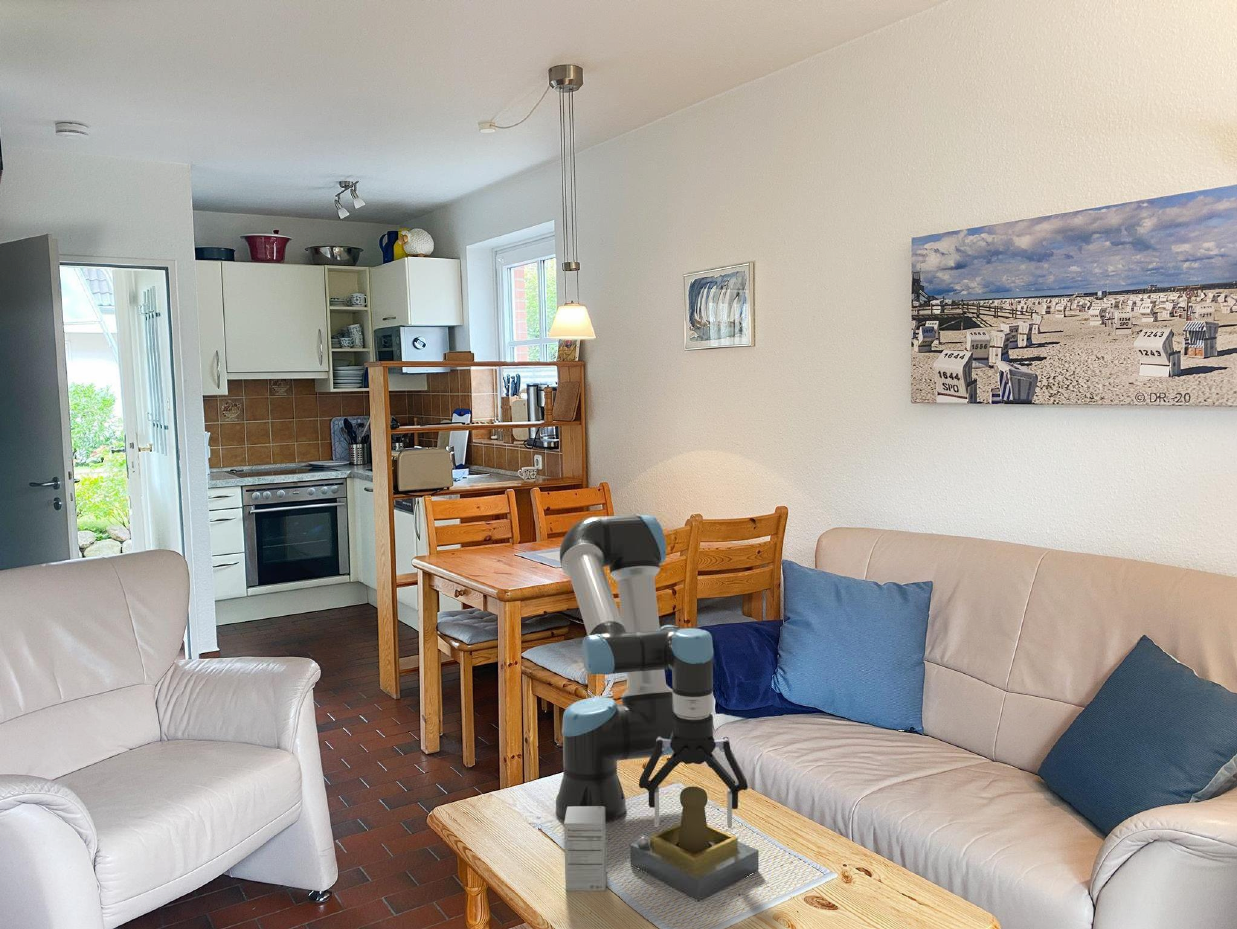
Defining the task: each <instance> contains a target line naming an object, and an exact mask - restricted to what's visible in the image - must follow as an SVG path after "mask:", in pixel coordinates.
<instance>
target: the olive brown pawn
mask: <svg viewBox="0 0 1237 929" xmlns="http://www.w3.org/2000/svg"><path fill="white" fill-rule="evenodd" d="M708 798H709V797H708V794H707V792H706V791H705V788H702V787H699V786H694V785H693V786H687V787H685V788H683V789H682V790H681V791H680V794H679V801H680V804H681V807H682V811H681V817H680V818H681V819H680V823H681V825H680V833H679V841H678V847H679V848H681V849H683V850H685V851H687V852H689V853H691V854H698V853H700V852H702V851H704V850H706V849H708V848H710V844H709V836H708V829H707V824H708V821H707V817H706V816H707V815H706V808H705V807H706V806H707V804H708Z"/></svg>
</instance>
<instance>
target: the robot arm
mask: <svg viewBox="0 0 1237 929" xmlns="http://www.w3.org/2000/svg"><path fill="white" fill-rule="evenodd" d="M666 542H667V541H666V538H665V534H664V530H663V527H662V526H661V524H660V521H658V519H657V518H656V517H655V516H652V515H650V514H646V515H645V514H636V513H634V514H626V515H607V516H606V515H605V516H603V515H602V516H596V515H595V516H589V517H585V518H584V519H581V520H580V521H578V522H576V523H575V524H574V525H573V526H572V527H571V528H570V529H569V530H568V531H567V532H566V534H565V536H564V538H563V539H562V540H561V543H560V549H559V561H560V566H561V569H562V571H563V573H564V574H565V575H566V577H568V578H570V583H571V586H572V589H573V591H574V596H575V599H576V601H577V604H578V608H579V612H580V614H581V618H582V621H583V623H584V627H585V630H586V631H585V632H586V634H587V635H586V636H585V637H584V638H583V640H582V644H581V656H582V657H581V658H582V663H583V668H584V670H585V671H586V673H587V674H589V675H606V676H607V675H613V674H614V675H615V674H622V673H623V674H624V673H625V674H626V683H627V687H626V690H625V691H624V692H623V694H622V695H621V704H617V702H616V701H615V700H614V699H613V698H611V697H605V696H604V697H601V696H594V697H588V698H584V699H581V700H577V701H575V702H573V703H571V704H570V705H569V706H567V708H566V709H565V710H564V712H563V715H562V728H561V733H562V758H563V760H562V764H563V765H562V767H563V770H562V772H563V774H562V779H561V783H560V785H559V786H560V787H559V790H558V794H557V795H556V798H555V813H556V815H557V816H558V817H560V818H561V819H563V820H564V821H565V816H566V810H567V807H571V806H603V807H605V823H608V822H612V821H615V820H616V819H619V818H620V817H622V816H623V815H624V814H625V812H626V809H627V808H626V807H627V806H626V804H627V803H626V795H625V793H624V789H623V787H622V784H621V781H620V778H619V775H618V762H619V761H628V760H638V759H647V758H649V760H647V761H648V762H647V763H646V765H645V767H644V769H643V771H642V773H641V776H640V778H639V780H638V787H639V789H645V790H647V792H648V807H649V808H650V809H652V808H653V809H654V827H655V828H656V827H660V785H661V784H662V783H663V781H664V780H665V779H666V778H667V777H668V776H669V775H670V773H671V772H672V771H673V770H674V769H675V768H676V767H677V766H678V765H679V764H680V763H681V762H682V763H684V765H690V764H695V765H702V764H703V763H706V765H707V766H708V767H709V768H710V769H712V771H713V772H714V773H715V774H716V775H717V777H719V779H720V780H721V781H722V783H724V784H725V786H727V789H726V792H727V793H726V798H727V799H726V807H727V810H726V812H727V813H726V819H727V820H726V821H727V822H726V823H727V828H728V829H733V810H737V809H738V808H739V793H740V792H742V791H746V790H748V788H749V786H748V780H747V778H746V776H745V774H744V772H743V771H742V769H741V767H740V765H739V763H738V761H737V759H736V757H735V755H734V753H733V751H732V749H731V744H730V738H729V737H728V736H724V737H723V738H722V739H714V716H713V714H712V713H713V712H714V691H713V688H714V685H713V684H714V681H713V676H714V675H713V674H714V673H713V672H714V669H713V668H714V664H713V663H714V653H715V652H714V651H715V650H714V648H713V647H714V645H713V636H712V634H711V633H710V631H707V630H705V629H701V628H695V627H694V628H690V627H689V628H688V627H687V628H682V627H681V628H680V627H679V626H676V625H672V624H665V625H663V626H660V619H659V608H658V601H657V600H658V599H657V591H656V582H655V581H656V580H655V577H656V576H657V575H658V573H659V572H660V571H661V567H660V565H662V564H664V563H665V561H666V558H667V551H666V550H667V544H666ZM604 567H607V568H609V569H608V570H609V575H610V577H611V578H613V580H615V581H616V582H617V593H618V600H619V602H618V603H619V608H618V606H617V602H616V600H615V598H614V597H615V596H614V595H613V591H612V589H611V586H610V583H609V580H608V578H607V575H606V572H605V570H604ZM665 670H670V671H671V674H672V677H671V678H672V688H671V687H670V686H669V685H668V684H667V682H666V674H665ZM716 748H718V749H719V751H720V752H721V753H724V756H725V759H726V761H727V763H728V765H729V767H730V768H731V770H732V772H733V774H734V777H735V778H736V780H737V781H736V780H734V778H733V776H731V774H730V773H729V772H728V771H727V770H726V769H725V768H724V767H723V765H722V764H721V763H720V762H719V761H718V760H717V759H716V757H715V755H714V754H713V752H714V751H715V749H716ZM669 755H671V756H670V758H669V759H668V760H667V761H665V763H664V764H663V765H662V767H661V768H660V769H658V771H657V772H656V774H655V775H654V776H653V777H652V778H651V779H650V777H651V776H652V774H653V772H654V770H655V767H656V765H657V764H658V762H659V760H660V758H661V757H663V756H669Z"/></svg>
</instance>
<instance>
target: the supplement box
mask: <svg viewBox="0 0 1237 929" xmlns="http://www.w3.org/2000/svg"><path fill="white" fill-rule="evenodd" d="M563 823H564V825H563V826H564V828H563V829H564V830H563V831H564V833H563V834H564V873H565V875H564V877H565V882H564V883H565V890H566V891H577V892H578V891H579V892H580V891H582V892H584V891H585V892H588V891H589V892H590V891H591V892H592V891H593V892H597V891H598V892H601V891H605V890H606V886H607V885H606V883H607V839H606V838H607V835H606V833H607V832H606V831H607V829H606V826H607V825H606V823H607V822H605V807H603V806H571V807H567V810H566V816H565V820H564V822H563Z"/></svg>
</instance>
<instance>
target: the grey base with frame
mask: <svg viewBox="0 0 1237 929" xmlns="http://www.w3.org/2000/svg"><path fill="white" fill-rule="evenodd" d="M680 825H681V822H679V823H676V824H675V825H671V826H670V827H667V828H665V829H663V830H660V831H658V832H656V833H652V834H651V835H649V836H648V835H644V834H642V835H639V836H638V837H637V841H635V842H633V843H630V845H629V852H630V854H629V855H630V856H629V857H630V863H629V864H631V865H630V866H632V865H633V866H634V868H635V867H636V869H637V868H639V869H638V870H639V871H641V870H642V871H641V872H643V871H644V872H643V873H645V872H646V873H647V875H648V874H650V875H651V876H650V875H649V876H650V877H652V876H653V877H652V878H654V879H656V880H657V879H658V880H657V881H659V880H660V882H661V881H662V882H661V883H663V882H664V884H665V885H667V886H668V887H670V886H671V887H670V888H672V889H674V888H675V889H674V890H676V891H678V892H680V893H681V894H683V893H684V894H683V895H685V894H686V895H685V896H687V897H688V898H691V897H692V898H693V899H692V898H691V899H692V900H694V899H695V901H696V900H697V901H696V902H698V903H700V902H702V901H704V900H706V899H708V898H710V897H712V896H714V895H715V894H717V893H719V892H721V891H723V890H724V889H728V888H729V887H731V886H733V885H735V884H737V883H738V882H740V881H743V880H745V879H747V878H748V877H747V876H749V875H750V874H752V873H754V874H756V873H757V872H756V871H758V870H759V856H760V855H759V849H756V848H754V847H752V846H749V845H747V844H745V843H743V842H741V841H739V840H738V837H737V836H735V835H732V834H730V833H728V832H726V831H723V830H722V829H719V828H717V827H714V826H712V825H710V824H708V823H707V829H708V836H709V844H710V848H708V849H706V850H704V851H702V852H700V853H698V854H691V853H689V852H687V851H685V850H683V849H681V848H679V847H678V841H679V833H680ZM633 866H632V867H633ZM759 871H760V870H759ZM759 871H758V872H759ZM755 872H756V873H755ZM646 873H645V874H646ZM752 875H753V874H752ZM750 876H751V875H750ZM750 876H749V877H750ZM746 877H747V878H746ZM744 878H745V879H744ZM742 879H743V880H742ZM713 894H714V895H713ZM709 896H710V897H709ZM707 897H708V898H707ZM701 900H702V901H701Z"/></svg>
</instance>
